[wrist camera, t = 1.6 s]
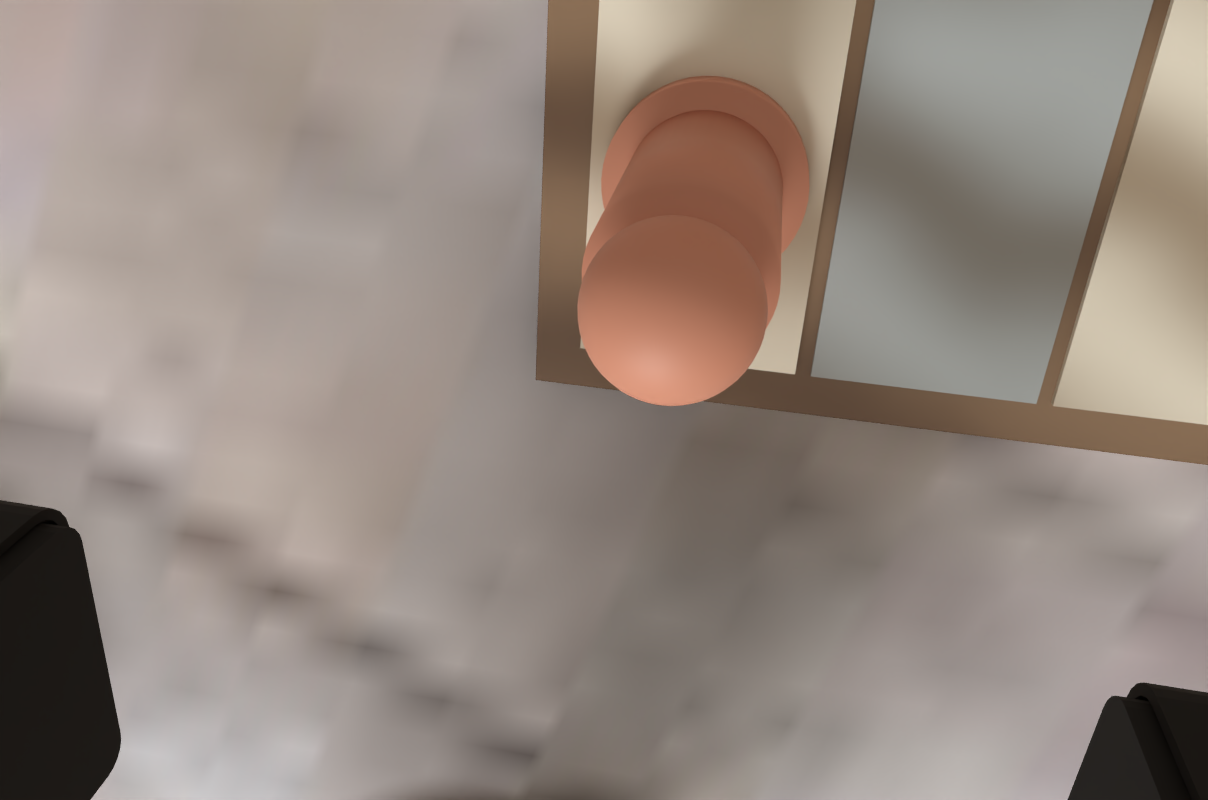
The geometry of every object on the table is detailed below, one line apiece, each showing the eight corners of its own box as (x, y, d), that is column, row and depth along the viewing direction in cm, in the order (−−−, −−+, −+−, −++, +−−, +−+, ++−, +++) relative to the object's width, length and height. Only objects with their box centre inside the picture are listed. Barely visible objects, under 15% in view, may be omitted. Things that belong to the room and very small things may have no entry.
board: (560, -115, 23) (550, -114, 22) (1852, -21, 21) (1909, -14, 20) (543, 364, 29) (534, 383, 28) (1555, 490, 26) (1586, 516, 25)
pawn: (613, 66, 24) (514, 183, 15) (824, 85, 23) (844, 218, 15) (600, 263, 26) (508, 461, 18) (792, 285, 26) (794, 500, 17)
